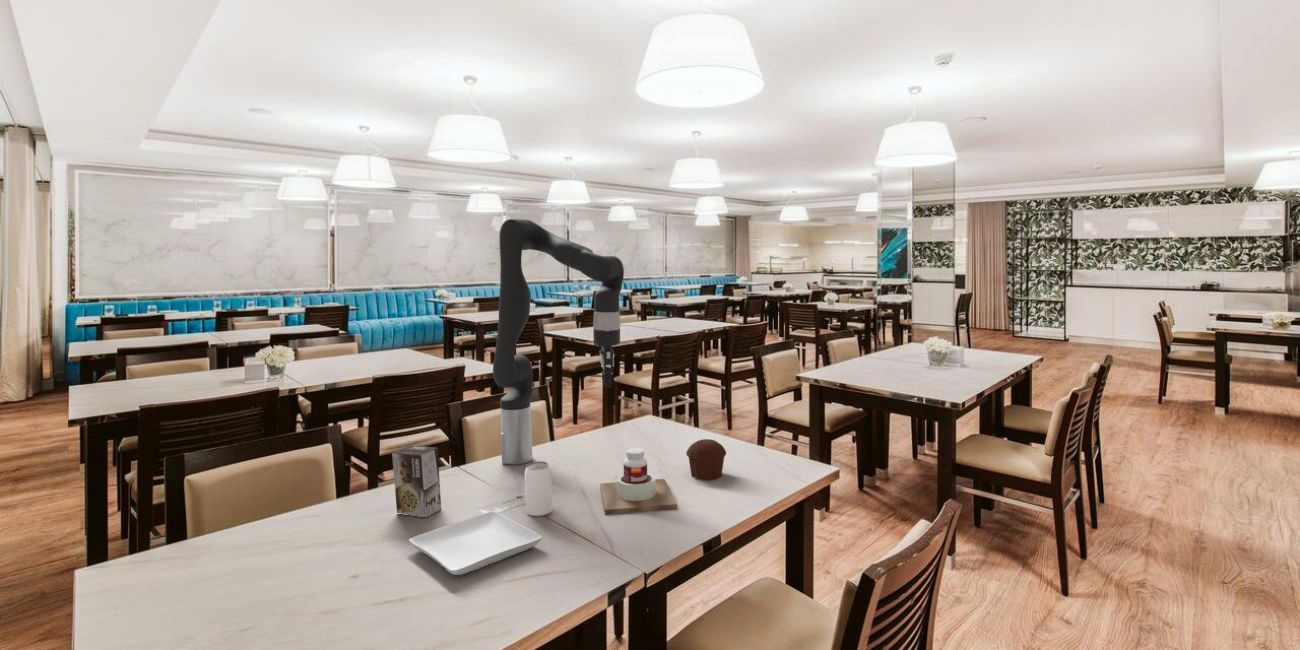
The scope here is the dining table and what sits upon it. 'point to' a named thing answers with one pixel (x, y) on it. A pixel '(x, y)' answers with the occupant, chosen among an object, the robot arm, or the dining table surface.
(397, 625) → the dining table surface
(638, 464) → the pill bottle
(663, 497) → the walnut board
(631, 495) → the pale green bowl
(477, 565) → the salad plate
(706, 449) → the muffin
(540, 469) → the can
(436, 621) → the dining table surface
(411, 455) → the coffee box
